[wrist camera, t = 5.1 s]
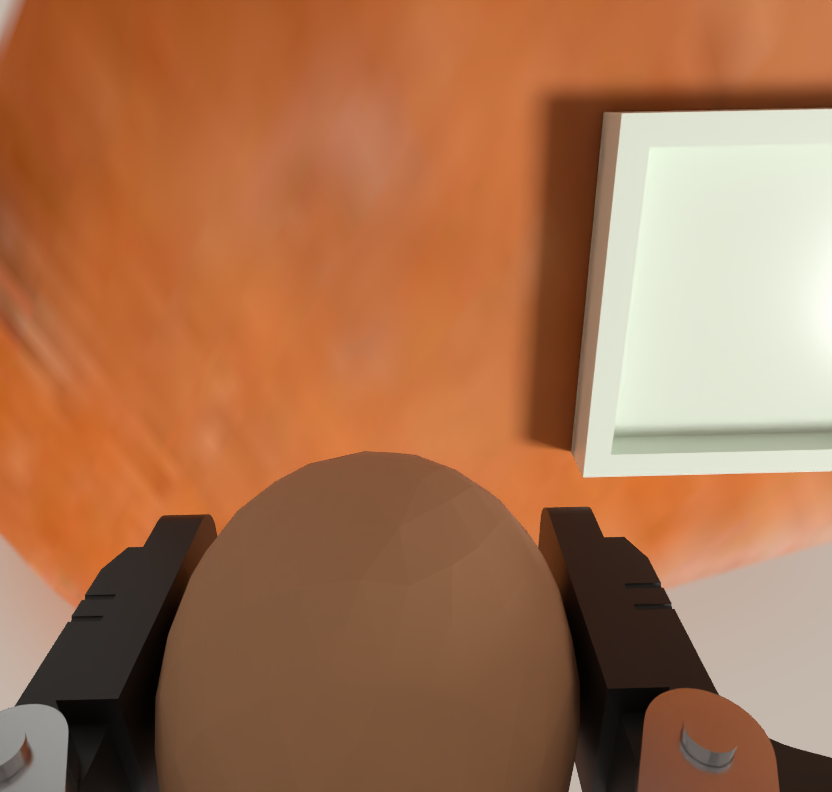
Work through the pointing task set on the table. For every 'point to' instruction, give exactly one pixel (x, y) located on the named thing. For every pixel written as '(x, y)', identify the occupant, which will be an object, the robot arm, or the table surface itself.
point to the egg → (369, 643)
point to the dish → (709, 296)
